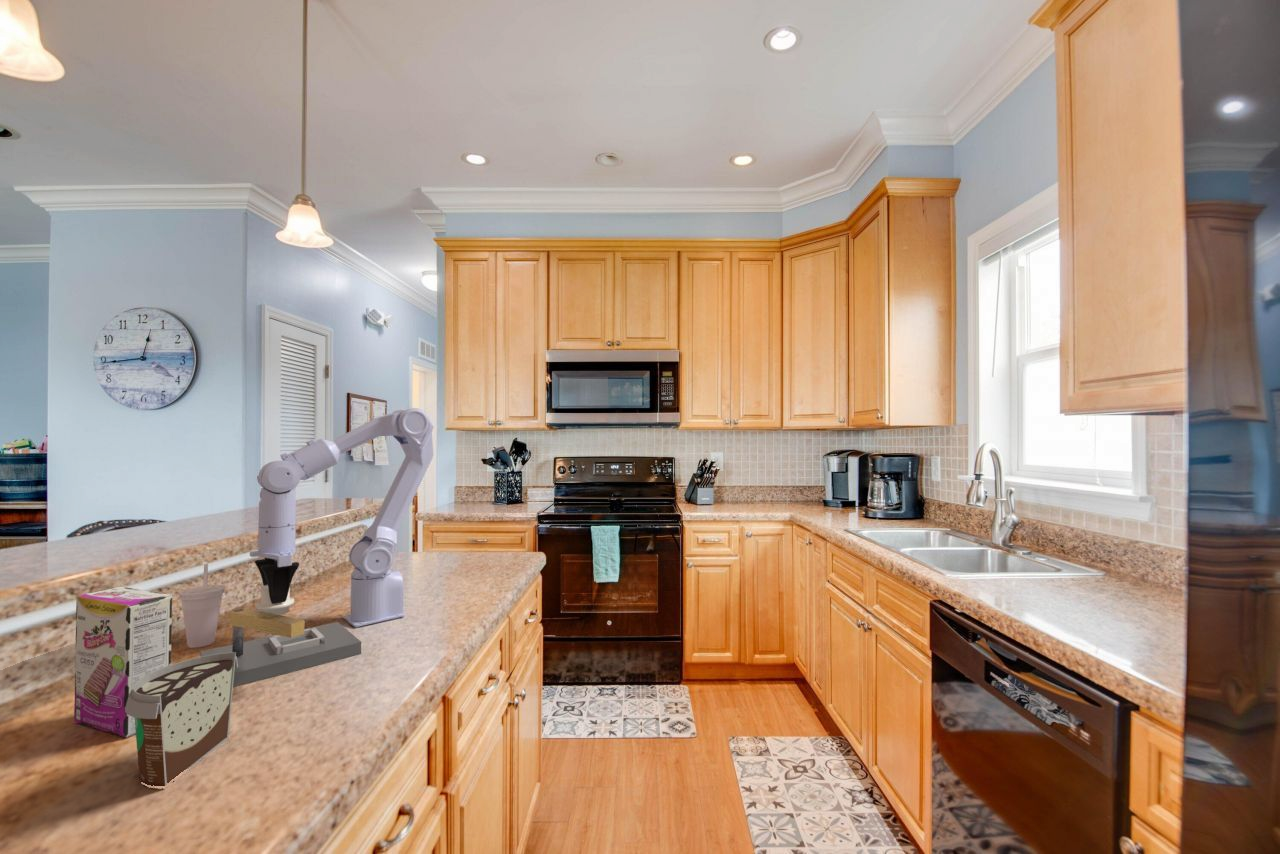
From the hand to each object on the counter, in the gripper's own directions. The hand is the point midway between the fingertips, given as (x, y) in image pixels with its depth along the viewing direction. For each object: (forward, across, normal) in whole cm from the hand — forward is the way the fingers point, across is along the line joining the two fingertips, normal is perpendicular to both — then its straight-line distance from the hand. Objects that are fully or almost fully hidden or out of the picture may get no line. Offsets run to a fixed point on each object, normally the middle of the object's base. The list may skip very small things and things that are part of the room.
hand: (275, 599), depth 96 cm
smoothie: (+7, -6, -10) cm, 14 cm away
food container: (+7, +37, -16) cm, 41 cm away
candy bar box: (+7, +21, -20) cm, 30 cm away
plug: (+2, 0, 0) cm, 2 cm away
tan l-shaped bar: (+5, +18, -4) cm, 19 cm away
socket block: (+7, +12, -1) cm, 14 cm away
